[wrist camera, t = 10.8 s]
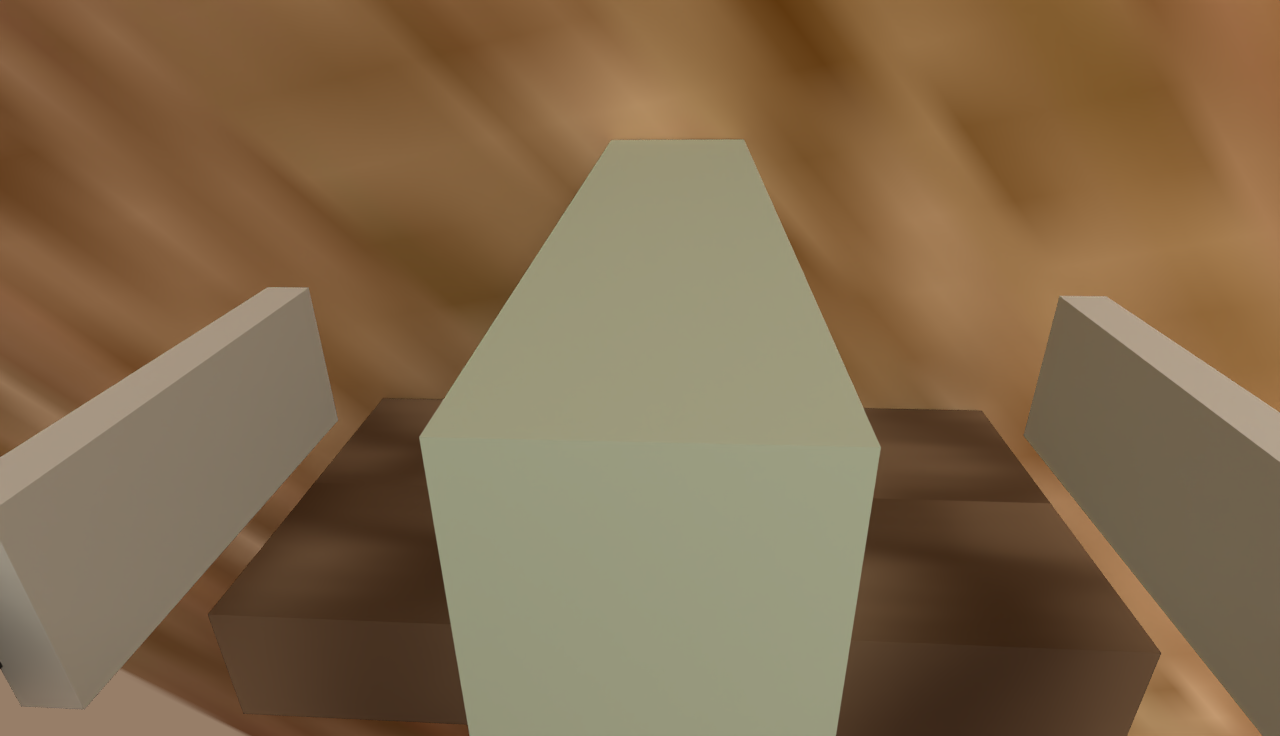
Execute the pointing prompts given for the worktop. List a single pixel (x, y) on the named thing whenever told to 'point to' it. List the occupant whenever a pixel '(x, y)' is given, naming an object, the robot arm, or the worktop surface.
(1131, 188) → the worktop surface
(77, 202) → the worktop surface
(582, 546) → the sage slotted plate
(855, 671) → the walnut slotted plate
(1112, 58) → the worktop surface
